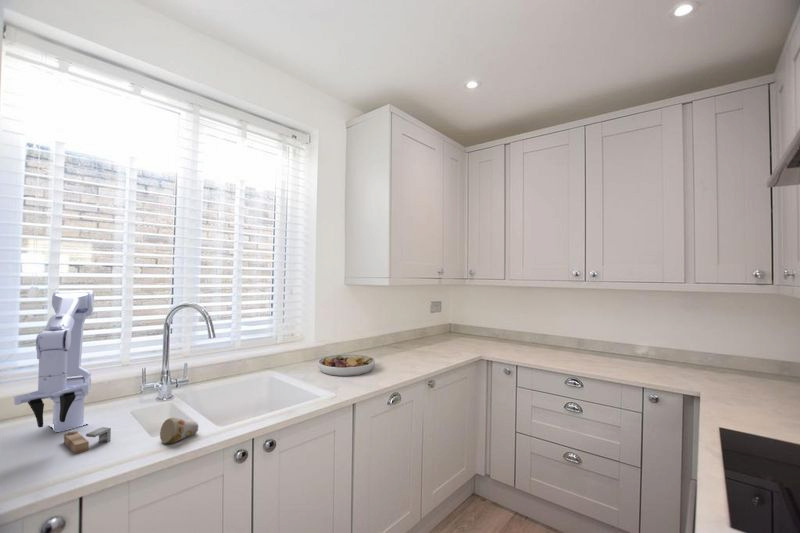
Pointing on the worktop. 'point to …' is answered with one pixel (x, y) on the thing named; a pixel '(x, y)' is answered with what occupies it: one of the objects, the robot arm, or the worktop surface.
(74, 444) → the link
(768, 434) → the worktop surface
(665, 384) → the worktop surface
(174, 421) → the grey-brown rounded piece
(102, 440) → the bracket
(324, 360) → the bowl
